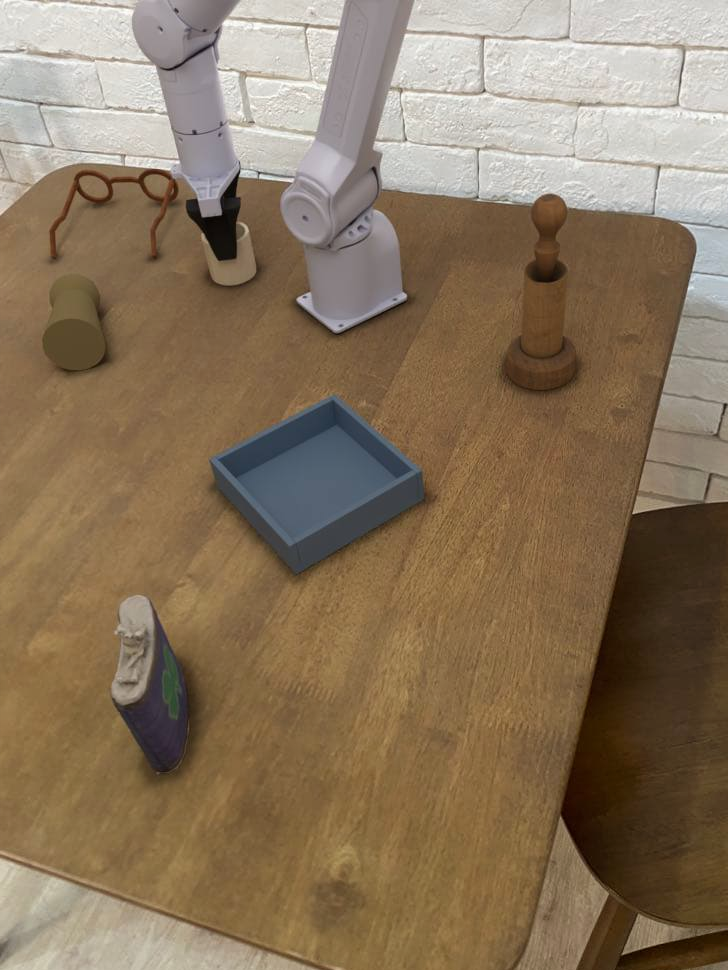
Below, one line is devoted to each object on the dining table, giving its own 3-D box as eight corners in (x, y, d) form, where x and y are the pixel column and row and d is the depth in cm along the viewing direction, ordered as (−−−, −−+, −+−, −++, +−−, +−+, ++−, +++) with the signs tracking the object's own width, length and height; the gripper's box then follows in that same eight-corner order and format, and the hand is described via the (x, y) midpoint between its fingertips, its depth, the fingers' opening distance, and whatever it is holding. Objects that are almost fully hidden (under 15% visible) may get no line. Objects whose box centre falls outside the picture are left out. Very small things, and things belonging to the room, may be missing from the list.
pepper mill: (74, 307, 91) (75, 254, 99) (28, 341, 93) (33, 286, 100) (118, 348, 96) (116, 294, 103) (74, 380, 97) (75, 325, 105)
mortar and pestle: (529, 399, 89) (537, 225, 75) (493, 363, 93) (495, 192, 79) (587, 375, 90) (605, 202, 77) (550, 341, 94) (561, 170, 81)
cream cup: (242, 255, 109) (233, 215, 105) (265, 273, 106) (257, 233, 102) (203, 272, 107) (192, 232, 103) (225, 291, 104) (215, 251, 101)
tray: (339, 422, 88) (334, 393, 86) (424, 499, 81) (422, 469, 78) (217, 487, 84) (208, 458, 81) (296, 574, 76) (289, 546, 74)
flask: (151, 667, 71) (109, 578, 63) (190, 661, 71) (153, 572, 63) (146, 778, 65) (99, 694, 57) (189, 771, 65) (147, 687, 57)
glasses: (183, 202, 118) (173, 164, 115) (156, 259, 110) (144, 220, 106) (84, 204, 120) (71, 166, 116) (49, 260, 111) (34, 221, 107)
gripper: (163, 96, 99) (193, 215, 109) (155, 160, 89) (189, 284, 99) (230, 88, 99) (254, 207, 109) (229, 151, 89) (255, 276, 99)
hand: (227, 244), depth 104 cm, fingers closed on cream cup, 5 cm apart
